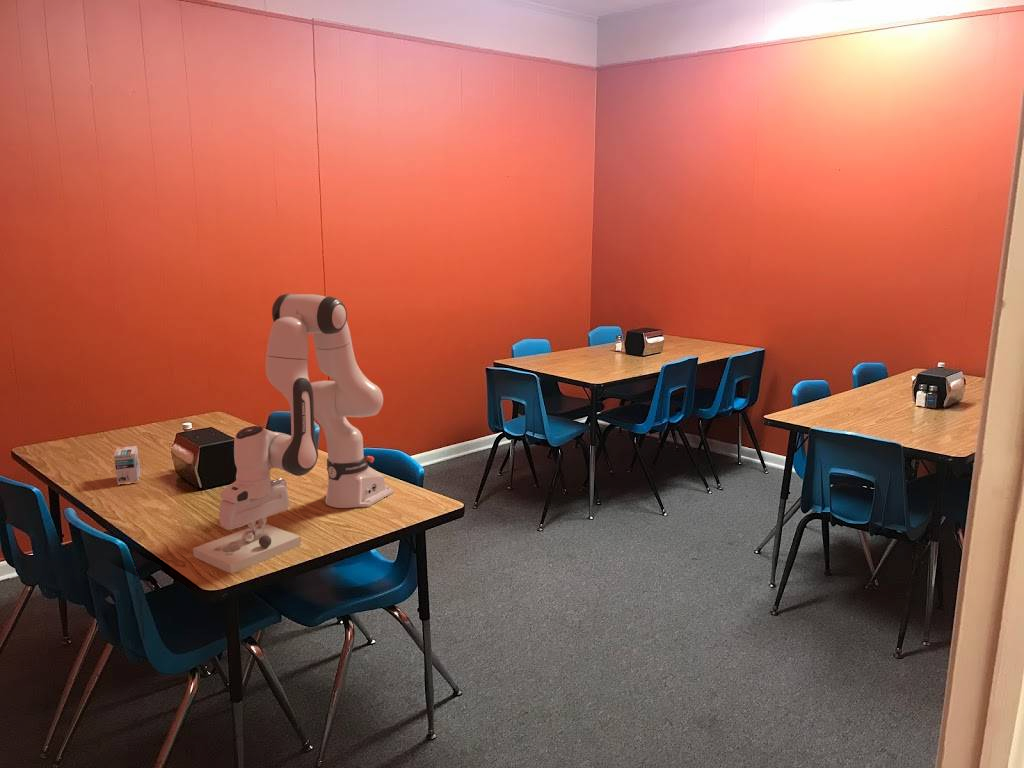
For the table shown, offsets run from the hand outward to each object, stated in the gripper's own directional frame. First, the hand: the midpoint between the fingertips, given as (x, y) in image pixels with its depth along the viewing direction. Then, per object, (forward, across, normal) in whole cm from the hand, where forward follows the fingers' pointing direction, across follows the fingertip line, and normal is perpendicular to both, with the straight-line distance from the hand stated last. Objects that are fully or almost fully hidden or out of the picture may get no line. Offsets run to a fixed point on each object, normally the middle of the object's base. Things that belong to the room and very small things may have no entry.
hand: (257, 534), depth 213 cm
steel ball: (0, +3, 0) cm, 3 cm away
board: (+4, +3, 0) cm, 5 cm away
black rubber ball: (0, +2, +6) cm, 7 cm away
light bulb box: (+4, -8, -84) cm, 85 cm away
